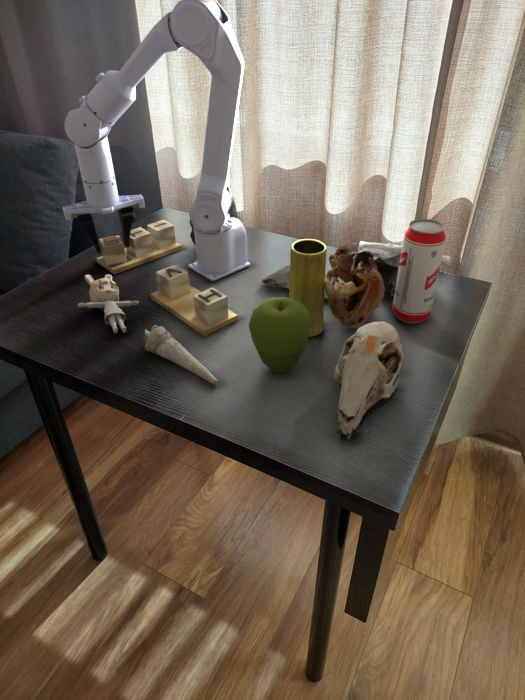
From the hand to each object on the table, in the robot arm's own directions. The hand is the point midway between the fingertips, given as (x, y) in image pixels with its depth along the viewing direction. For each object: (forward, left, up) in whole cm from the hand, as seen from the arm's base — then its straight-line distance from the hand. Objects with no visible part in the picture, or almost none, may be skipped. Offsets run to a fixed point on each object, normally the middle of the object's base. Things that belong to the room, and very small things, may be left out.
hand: (112, 248), depth 102 cm
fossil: (-22, +33, -4) cm, 40 cm away
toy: (+9, +15, -4) cm, 18 cm away
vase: (-12, +41, -4) cm, 43 cm away
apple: (-2, +46, -4) cm, 46 cm away
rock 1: (-20, +7, -4) cm, 21 cm away
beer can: (-27, +51, -4) cm, 58 cm away
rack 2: (-2, +24, -4) cm, 24 cm away
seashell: (+8, +35, -4) cm, 36 cm away
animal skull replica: (-5, +59, -4) cm, 59 cm away
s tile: (0, 0, -3) cm, 3 cm away
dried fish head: (-20, +37, -3) cm, 42 cm away
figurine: (-36, +32, -1) cm, 48 cm away
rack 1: (-6, 0, -4) cm, 7 cm away
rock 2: (-28, +42, -2) cm, 51 cm away
